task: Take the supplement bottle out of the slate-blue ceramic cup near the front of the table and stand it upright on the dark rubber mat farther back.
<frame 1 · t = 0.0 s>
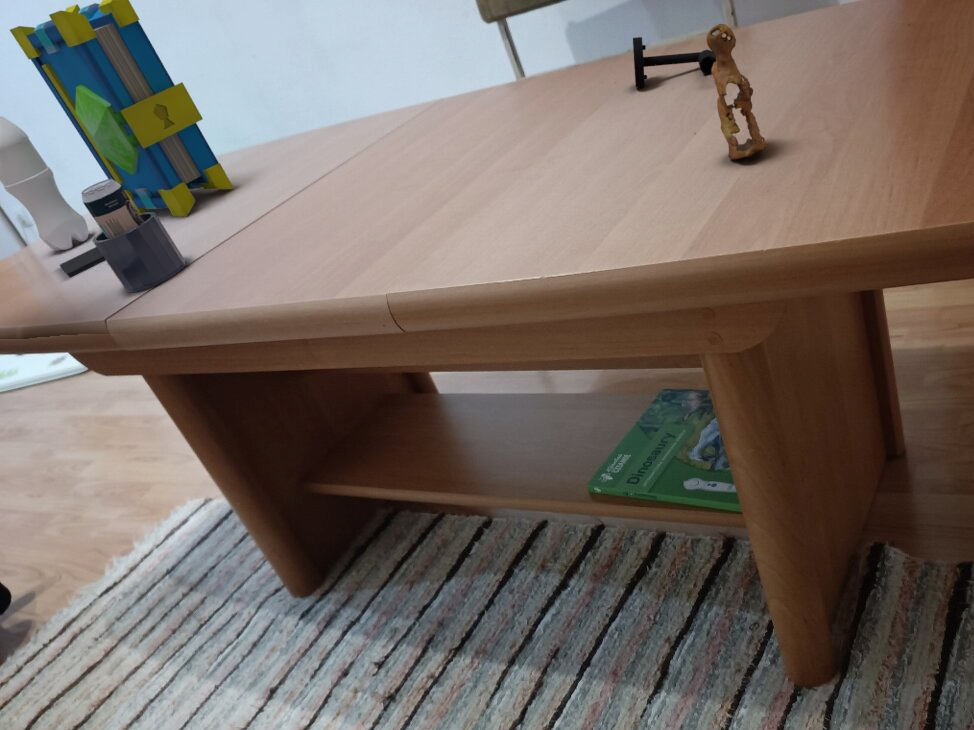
mat: (91, 259, 130), on the table
cup: (156, 276, 112), on the table
water bottle: (74, 244, 142), on the table
light fixture: (678, 84, 111), on the table
decorative book: (182, 203, 143), on the table
supplement bottle: (155, 274, 112), resting on cup
figurine: (747, 156, 84), on the table
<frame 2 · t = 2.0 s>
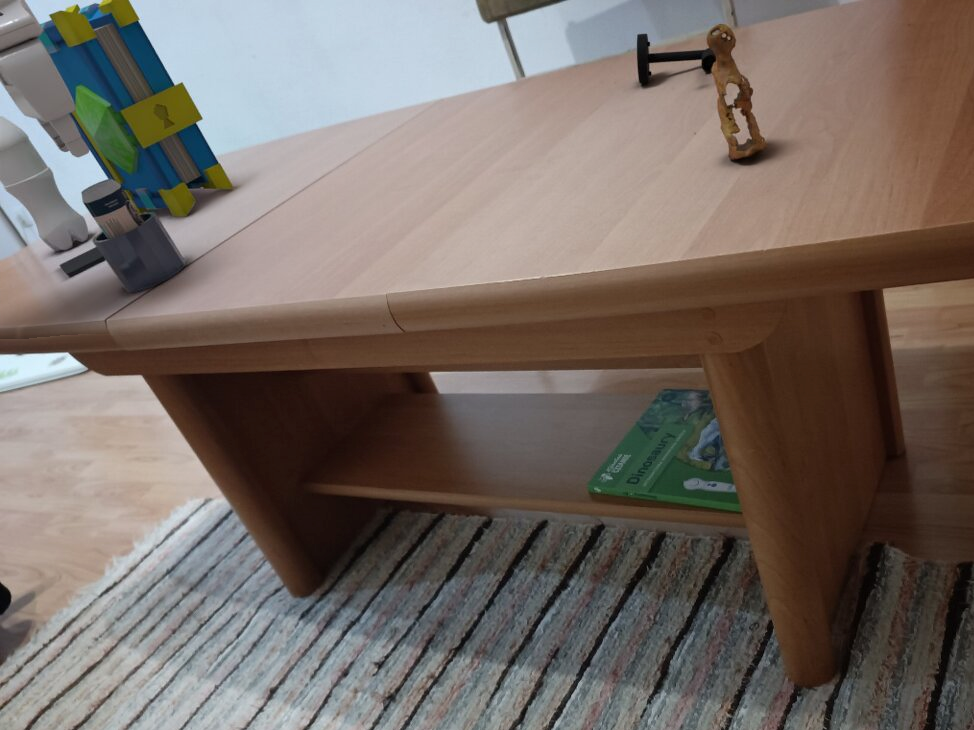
hand: (76, 152, 103), 17 cm above the table, tool pointing down, fingers open, 8 cm apart
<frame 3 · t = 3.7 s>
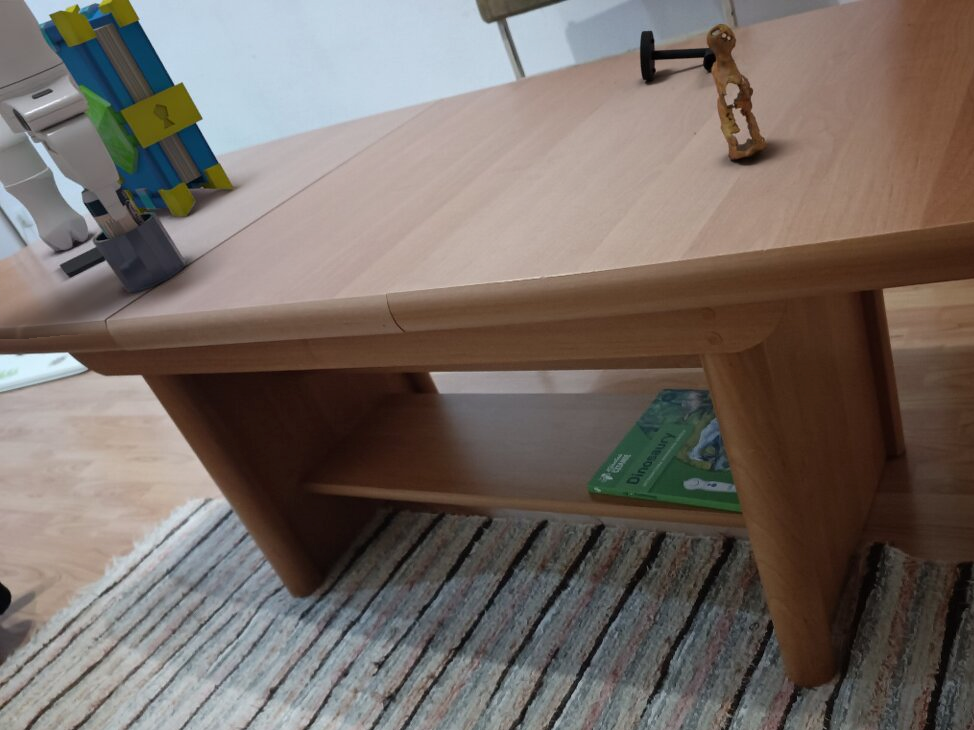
hand: (115, 214, 107), 9 cm above the table, tool pointing down, fingers closed on supplement bottle, 5 cm apart
supplement bottle: (155, 274, 112), resting on cup, touching gripper
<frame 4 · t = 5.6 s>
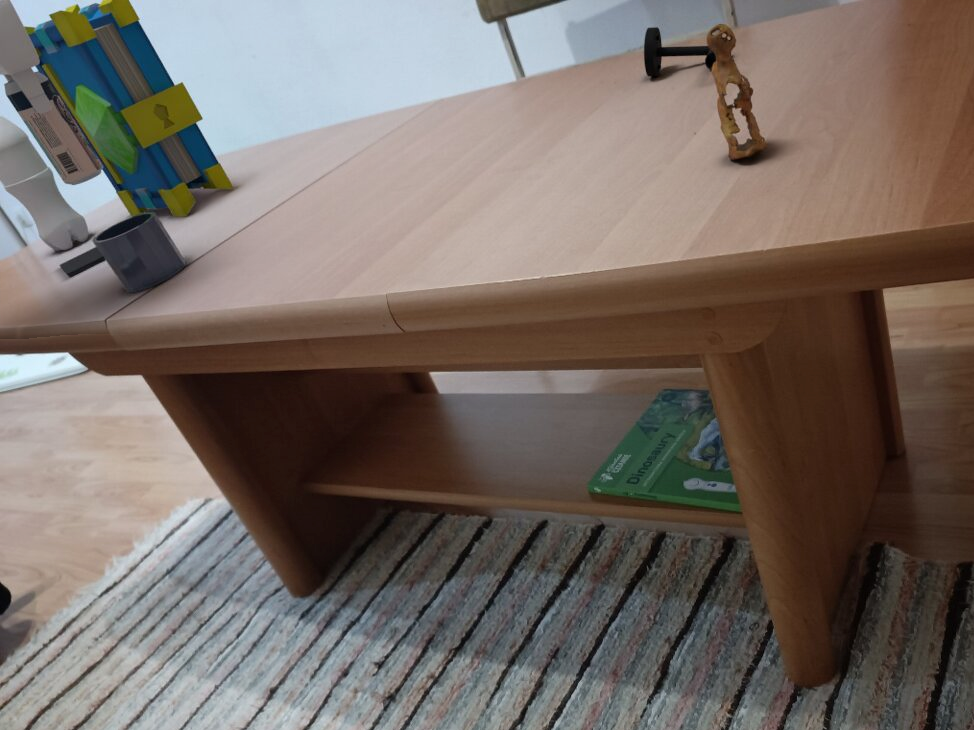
hand: (42, 111, 100), 22 cm above the table, tool pointing down, fingers closed on supplement bottle, 5 cm apart
supplement bottle: (87, 180, 105), point 13 cm above the table, touching gripper
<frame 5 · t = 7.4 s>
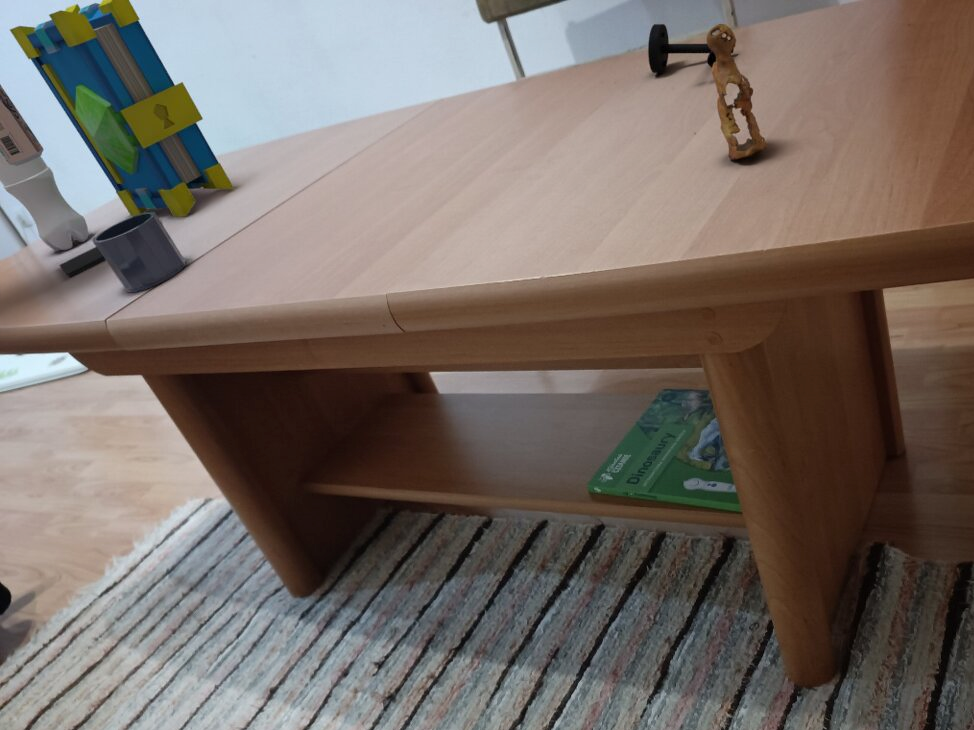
supplement bottle: (29, 161, 118), point 15 cm above the table, touching gripper
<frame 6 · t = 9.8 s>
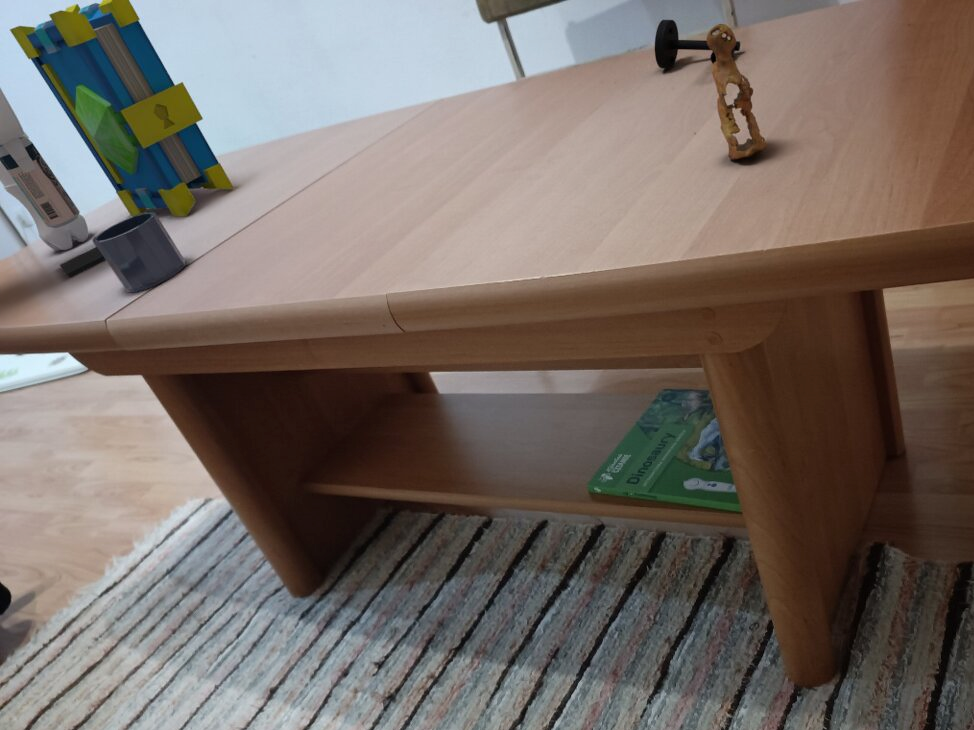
hand: (27, 168, 122), 14 cm above the table, tool pointing down, fingers closed on supplement bottle, 5 cm apart
light fixture: (693, 72, 113), on the table
supplement bottle: (66, 223, 126), point 6 cm above the table, touching gripper
everything else where it was.
when the fingers open (9 cm above the table, at t = 11.5 s): supplement bottle stays where it is, resting on mat.
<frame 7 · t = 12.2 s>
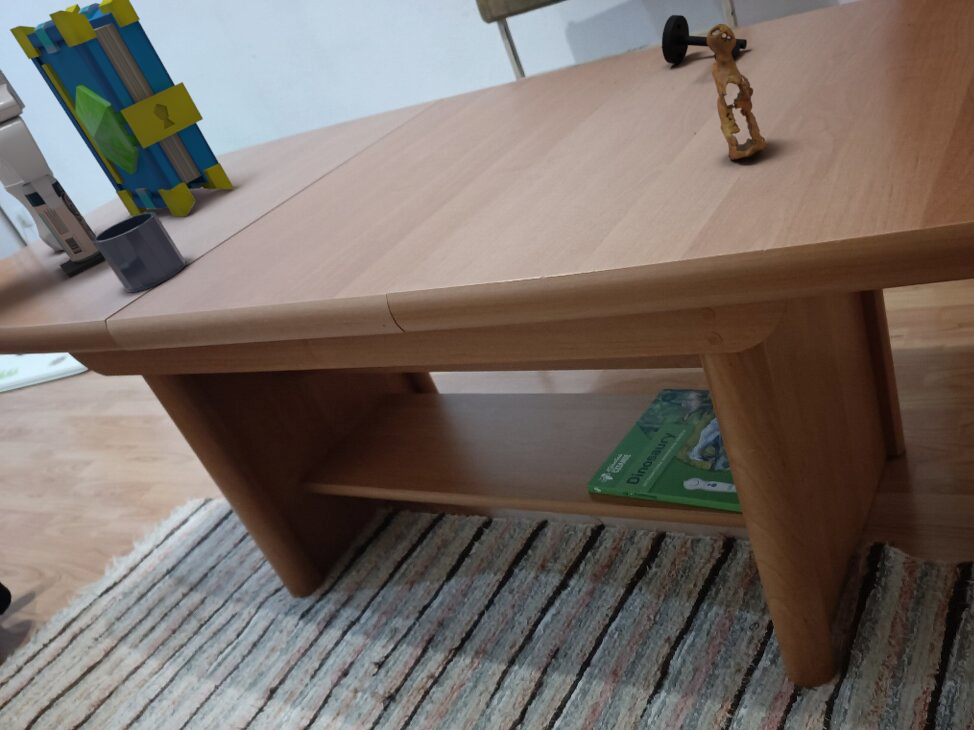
hand: (52, 203, 124), 9 cm above the table, tool pointing down, fingers open, 8 cm apart
light fixture: (698, 68, 114), on the table
supplement bottle: (90, 257, 129), resting on mat
everything else where it was.
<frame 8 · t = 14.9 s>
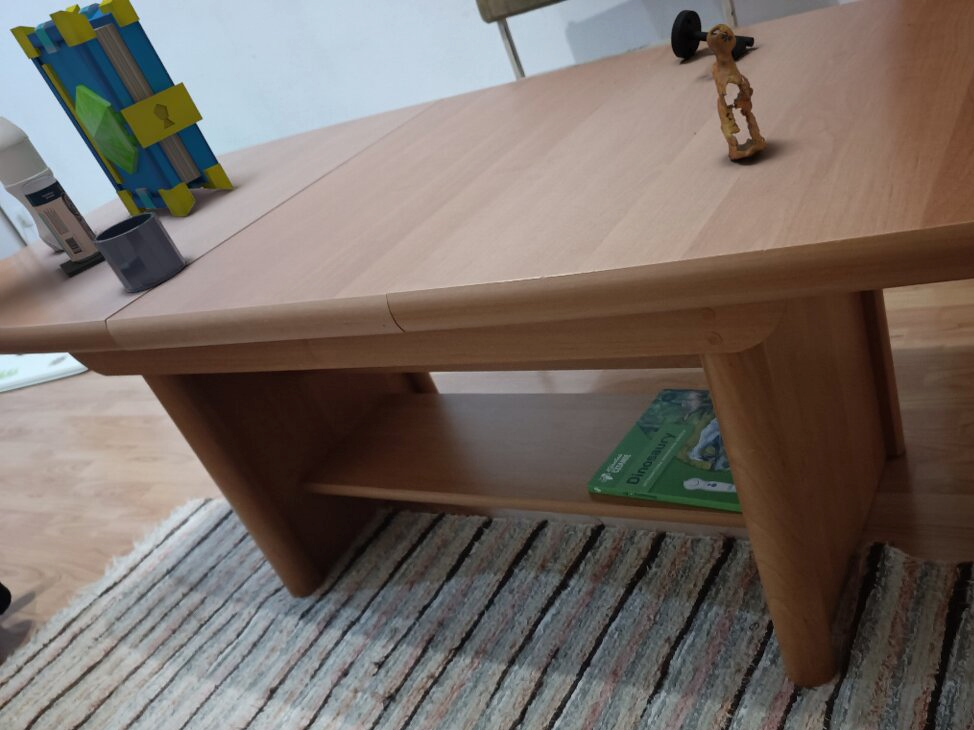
light fixture: (705, 65, 114), on the table
everything else where it was.
at the end: supplement bottle 0.0 cm off-centre on the mat, point 0.4 cm above the mat's base; supplement bottle tilted 0°; supplement bottle touching mat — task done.
